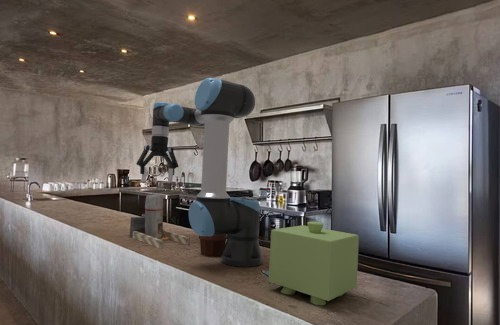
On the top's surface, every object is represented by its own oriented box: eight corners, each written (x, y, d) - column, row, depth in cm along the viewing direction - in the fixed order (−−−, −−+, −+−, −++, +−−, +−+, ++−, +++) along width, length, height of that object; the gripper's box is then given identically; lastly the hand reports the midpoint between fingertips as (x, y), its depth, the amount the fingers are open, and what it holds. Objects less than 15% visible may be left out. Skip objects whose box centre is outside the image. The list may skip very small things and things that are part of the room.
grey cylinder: (151, 240, 151) (153, 194, 152) (139, 237, 156) (142, 193, 157) (166, 237, 158) (169, 194, 158) (155, 235, 163) (157, 193, 163)
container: (356, 295, 97) (359, 224, 97) (327, 310, 85) (331, 229, 85) (299, 278, 109) (302, 216, 110) (267, 289, 97) (271, 219, 98)
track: (189, 244, 149) (190, 223, 150) (159, 248, 139) (160, 226, 139) (157, 233, 169) (158, 215, 169) (129, 236, 158) (130, 217, 159)
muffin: (193, 251, 138) (195, 226, 138) (219, 249, 143) (220, 225, 143) (203, 258, 127) (205, 231, 128) (230, 256, 133) (232, 230, 133)
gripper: (178, 139, 170) (176, 182, 169) (130, 133, 152) (127, 180, 152) (187, 138, 164) (184, 182, 164) (138, 132, 147) (135, 181, 146)
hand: (157, 182), depth 158 cm, fingers open, 13 cm apart
